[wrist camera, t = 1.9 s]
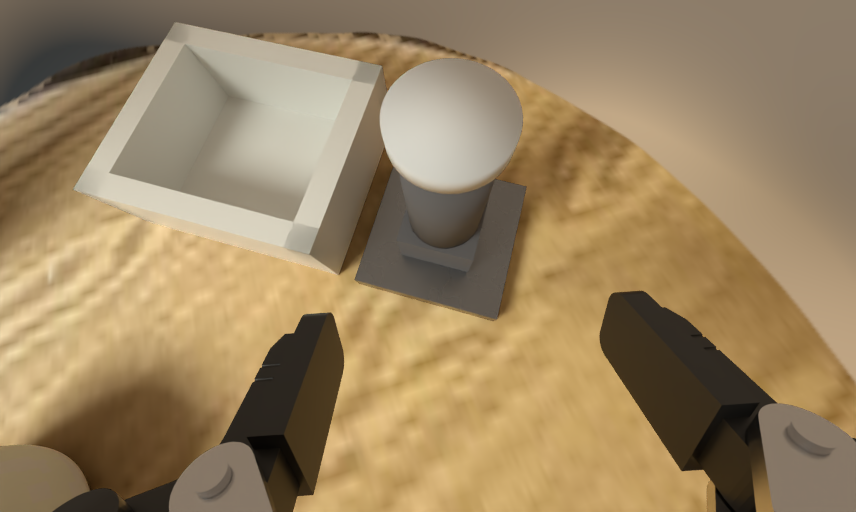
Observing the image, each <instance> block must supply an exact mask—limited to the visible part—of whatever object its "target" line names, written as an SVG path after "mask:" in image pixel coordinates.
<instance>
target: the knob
mask: <svg viewBox="0 0 856 512" xmlns="http://www.w3.org/2000/svg"><path fill="white" fill-rule="evenodd" d="M522 126H523V113H522V107H521V104H520V101H519V98H518V96H517V94H516V92H515V91H514V89H513V88H512V86H511V85H510V84H509V83H508V81H507V80H506V79H505V78H503V77H502V76H501V75H500V74H499V73H497V72H496V71H494V70H493V69H491V68H489V67H487V66H485V65H483V64H480V63H478V62H474V61H470V60H466V59H458V58H446V59H437V60H432V61H429V62H425V63H422V64H420V65H418V66H415V67H414V68H412V69H410V70H408V71H407V72H406V73H404V74H403V75H401V76H400V77H399V78H398V79H397V80H396V81H395V82H394V83H393V85H392V86H391V87H390V89H389V90H388V92H387V93H386V95H385V98H384V100H383V103H382V106H381V111H380V128H381V133H382V137H383V141H384V145H385V149H386V152H387V155H388V157H389V159H390V161H391V163H392V165H393V166H394V167H395V169H396V170H397V171H398V172H399V175H400V180H401V185H402V189H403V194H404V198H405V203H406V207H407V208H406V211H405V214H404V217H403V220H402V223H401V226H400V230H399V233H398V236H397V239H396V242H397V244H398V247H399V249H400V252H401V254H402V255H405V256H409V257H413V258H417V259H420V260H424V261H428V262H432V263H435V264H439V265H443V266H447V267H450V268H454V269H458V270H462V271H465V272H468V271H469V269H470V267H471V265H472V262H473V260H474V256H475V252H476V248H477V244H478V240H479V236H480V232H481V228H482V224H483V220H484V216H485V212H486V208H487V204H488V200H489V196H490V192H491V190H492V187H493V184H494V181H495V179H496V177H498V176H499V175H500V174H501V173H502V171H503V170H504V169H505V168H506V166H507V165H508V163H509V162H510V160H511V158H512V156H513V153H514V151H515V148H516V146H517V143H518V141H519V138H520V135H521V132H522ZM462 244H463V245H462Z"/></svg>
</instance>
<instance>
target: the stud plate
mask: <svg viewBox="0 0 856 512" xmlns="http://www.w3.org/2000/svg"><path fill="white" fill-rule="evenodd" d="M525 191H526V186H522V185H518V184H514V183H509V182H505V181H501V180H497V179H495V181H494V184H493V187H492V190H491V192H490V196H489V200H488V204H487V208H486V212H485V216H484V220H483V224H482V228H481V232H480V236H479V240H478V244H477V248H476V252H475V256H474V260H473V262H472V265H471V267H470V269H469V271H468V272H465V271H462V270H458V269H454V268H450V267H447V266H443V265H439V264H435V263H432V262H428V261H424V260H420V259H417V258H413V257H409V256H405V255H402V254H401V252H400V249H399V247H398V244H397V242H396V239H397V236H398V233H399V230H400V226H401V223H402V220H403V217H404V214H405V211H406V208H407V207H406V203H405V198H404V194H403V189H402V185H401V180H400V175H399V172H398V171H397V170H396V169H395V167H394V166H393V169H392V172H391V175H390V178H389V181H388V184H387V187H386V190H385V193H384V195H383V198H382V201H381V204H380V207H379V210H378V213H377V216H376V219H375V222H374V225H373V228H372V230H371V233H370V236H369V239H368V242H367V245H366V248H365V251H364V254H363V257H362V260H361V262H360V265H359V268H358V271H357V274H356V277H355V281H357V282H358V283H359V284H362V285H366V286H369V287H373V288H377V289H380V290H384V291H387V292H391V293H394V294H398V295H402V296H405V297H409V298H412V299H416V300H420V301H423V302H427V303H430V304H434V305H437V306H441V307H445V308H448V309H452V310H455V311H459V312H463V313H466V314H470V315H473V316H477V317H480V318H484V319H488V320H491V321H494V320H497V317H498V312H499V308H500V303H501V299H502V294H503V290H504V285H505V281H506V276H507V272H508V268H509V263H510V259H511V254H512V250H513V245H514V241H515V236H516V232H517V227H518V223H519V218H520V214H521V209H522V205H523V200H524V196H525ZM462 245H463V244H462Z"/></svg>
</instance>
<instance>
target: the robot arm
mask: <svg viewBox="0 0 856 512" xmlns="http://www.w3.org/2000/svg"><path fill="white" fill-rule="evenodd" d="M600 344H601V348H602V351H603V353H604V354H605V356H606V358H607V359H608V361H609V362H610V364H611V365H612V367H613V368H614V370H615V371H616V373H617V374H618V376H619V377H620V379H621V380H622V382H623V383H624V385H625V386H626V388H627V389H628V391H629V392H630V394H631V395H632V397H633V398H634V400H635V401H636V403H637V404H638V406H639V407H640V409H641V411H642V412H643V414H644V415H645V417H646V418H647V420H648V421H649V423H650V424H651V426H652V427H653V429H654V430H655V432H656V433H657V435H658V436H659V438H660V439H661V441H662V442H663V444H664V445H665V447H666V448H667V450H668V451H669V453H670V454H671V456H672V457H673V459H674V460H675V462H676V463H677V465H678V466H679V468H680V469H681V471H690V470H704V471H705V472H706V474H707V475H708V477H709V478H710V479H711V480H710V481H709V482H708V485H707V512H856V439H855V438H851V437H850V436H849V435H848V434H847V433H845V432H844V431H843V430H841V429H840V428H839V427H837V426H836V425H834V424H833V423H831V422H829V421H828V420H826V419H824V418H822V417H820V416H818V415H816V414H814V413H812V412H810V411H807V410H805V409H802V408H799V407H795V406H792V405H787V404H778V403H777V402H775V401H774V400H773V399H772V398H771V397H770V396H769V395H768V394H767V393H765V392H764V391H763V390H762V389H761V388H760V387H759V386H758V385H757V384H756V383H755V382H754V381H752V380H751V379H750V378H749V377H748V376H747V375H746V374H745V373H744V372H743V371H742V370H741V369H740V368H738V367H737V366H736V365H735V364H734V363H733V362H732V361H731V360H730V359H729V358H728V357H727V356H725V355H724V354H723V353H722V352H721V351H720V350H716V346H715V345H714V344H712V343H711V342H710V341H709V340H708V339H707V338H706V337H703V336H702V333H701V332H699V331H698V330H697V329H696V328H695V327H694V326H693V325H692V324H691V323H690V322H689V321H688V320H686V319H685V318H683V317H681V316H679V315H678V314H676V313H674V312H672V311H671V310H669V309H667V308H665V307H664V308H662V307H661V306H660V305H659V304H658V303H657V302H656V301H655V300H653V299H652V298H651V297H650V296H649V295H648V294H647V293H646V292H644V291H631V292H617V293H613V294H611V296H610V297H609V300H608V304H607V308H606V312H605V315H604V319H603V323H602V327H601V330H600ZM343 369H344V354H343V349H342V345H341V341H340V338H339V334H338V330H337V327H336V323H335V319H334V316H333V314H332V313H317V314H305V315H303V316H302V318H301V320H300V322H299V324H298V326H297V328H296V330H295V333H292V334H285V335H284V336H283V337H282V338H281V339H280V340H279V341H278V342H277V343H275V344H274V345H273V346H272V347H271V348H270V350H269V352H268V354H267V356H266V358H265V360H264V362H263V364H262V368H260V369H259V371H258V373H257V375H256V377H255V382H253V383H252V385H251V387H250V389H249V391H248V392H247V394H246V396H245V398H244V400H243V402H242V404H241V406H240V408H239V410H238V412H237V414H236V415H235V417H234V419H233V421H232V423H231V425H230V427H229V429H228V431H227V433H226V435H225V436H224V438H223V440H222V442H221V443H220V445H218V446H215V447H213V448H211V449H209V450H208V451H206V452H205V453H203V454H202V455H200V456H199V457H198V458H197V459H195V460H194V461H193V462H192V463H191V464H190V465H189V466H188V467H187V468H186V469H185V471H184V472H183V473H182V474H181V476H180V477H179V479H177V480H175V481H173V482H170V483H168V484H165V485H163V486H160V487H157V488H155V489H152V490H149V491H147V492H144V493H142V494H139V495H136V496H134V497H131V498H129V499H126V500H123V499H122V498H121V497H120V496H119V495H118V494H117V493H115V492H114V491H112V490H111V489H106V488H103V489H95V490H91V491H88V492H85V493H82V494H80V495H78V496H76V497H74V498H72V499H70V500H69V501H67V502H65V503H64V504H62V505H61V506H59V507H58V508H56V509H55V510H54V511H52V512H293V509H294V506H295V502H296V499H297V496H304V495H313V494H314V490H315V486H316V482H317V478H318V473H319V469H320V465H321V461H322V457H323V453H324V449H325V445H326V440H327V436H328V432H329V428H330V424H331V420H332V416H333V411H334V407H335V403H336V399H337V395H338V391H339V387H340V382H341V378H342V374H343Z"/></svg>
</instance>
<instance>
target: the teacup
mask: <svg viewBox="0 0 856 512" xmlns="http://www.w3.org/2000/svg"><path fill="white" fill-rule="evenodd" d="M88 491H90V489H89V486H88V483H87V480H86V478H85V476H84V474H83V473H82V471H81V470H80V468H79V467H78V466H77V465H76V463H75V462H74V461H72V460H71V459H70V458H69V457H68V456H66V455H64V454H63V453H61V452H59V451H56V450H54V449H51V448H47V447H43V446H37V445H9V446H0V512H52V511H54V510H55V509H56V508H58V507H59V506H61V505H62V504H64V503H65V502H67V501H69V500H70V499H72V498H74V497H76V496H78V495H80V494H82V493H85V492H88Z"/></svg>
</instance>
